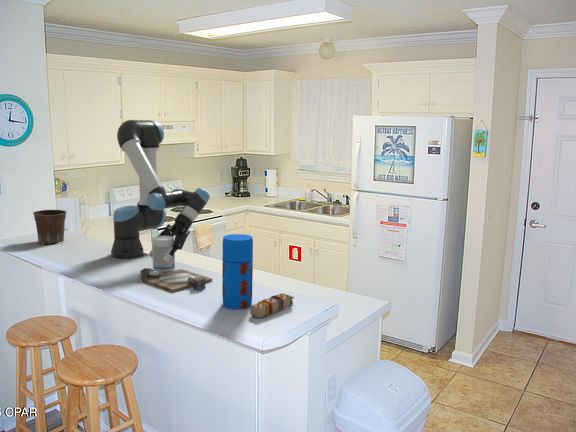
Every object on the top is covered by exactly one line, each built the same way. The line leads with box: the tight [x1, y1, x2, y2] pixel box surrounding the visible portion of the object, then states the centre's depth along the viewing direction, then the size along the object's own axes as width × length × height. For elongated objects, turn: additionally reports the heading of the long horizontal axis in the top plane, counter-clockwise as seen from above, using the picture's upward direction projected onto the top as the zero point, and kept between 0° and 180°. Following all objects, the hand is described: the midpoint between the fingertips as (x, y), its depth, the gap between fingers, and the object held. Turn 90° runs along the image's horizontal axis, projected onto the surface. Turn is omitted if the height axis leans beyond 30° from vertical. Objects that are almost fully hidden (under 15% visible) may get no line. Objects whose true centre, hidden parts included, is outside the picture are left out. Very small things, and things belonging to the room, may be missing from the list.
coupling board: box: [141, 268, 213, 293], centre depth 214 cm, size 20×20×2 cm
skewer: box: [249, 293, 295, 318], centre depth 184 cm, size 21×6×5 cm, turn 140°
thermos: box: [221, 233, 254, 310], centre depth 187 cm, size 11×11×25 cm
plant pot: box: [32, 209, 68, 245], centre depth 273 cm, size 16×16×16 cm
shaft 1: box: [140, 267, 161, 281], centre depth 215 cm, size 7×4×4 cm, turn 80°
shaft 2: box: [188, 277, 206, 291], centre depth 206 cm, size 7×4×4 cm, turn 50°
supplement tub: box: [151, 235, 176, 274], centre depth 228 cm, size 10×10×15 cm
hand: (157, 258), depth 226 cm, fingers closed on supplement tub, 9 cm apart
